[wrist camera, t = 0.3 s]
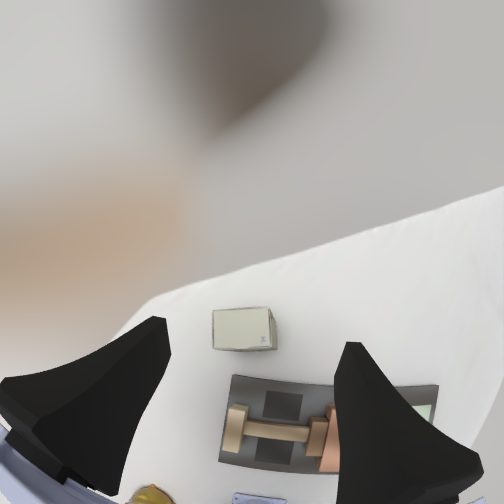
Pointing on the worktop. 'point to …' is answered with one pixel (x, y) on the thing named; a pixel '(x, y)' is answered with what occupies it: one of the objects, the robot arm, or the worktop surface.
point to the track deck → (299, 422)
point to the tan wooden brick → (273, 431)
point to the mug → (149, 496)
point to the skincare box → (244, 329)
